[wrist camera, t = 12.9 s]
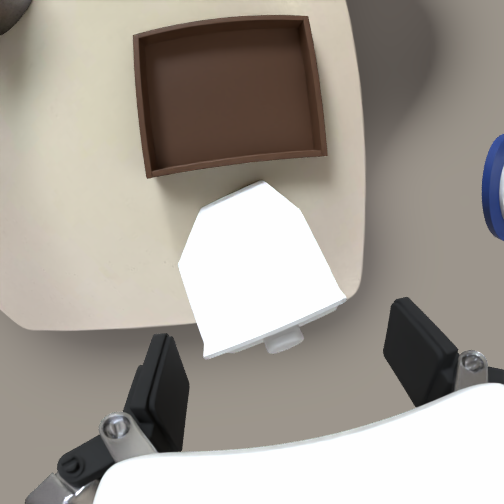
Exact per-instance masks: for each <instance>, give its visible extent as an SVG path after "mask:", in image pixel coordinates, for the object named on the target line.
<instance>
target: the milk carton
mask: <svg viewBox="0 0 504 504" xmlns="http://www.w3.org/2000/svg"><path fill="white" fill-rule="evenodd" d="M178 266H179V270H180V273H181V276H182V279H183V283H184V286H185V289H186V292H187V295H188V298H189V301H190V304H191V307H192V310H193V313H194V316H195V319H196V322H197V325H198V328H199V330H200V333H201V336H202V339H203V341H204V354H203V357H204V358H205V359H209V358H212V357H215V356H218V355H221V354H224V353H226V352H229V353H236V352H239V351H241V350H244V349H247V348H249V347H252V346H255V345H257V344H260V343H262V342H264V343H265V346H266V349H267V351H268V353H271V354H272V353H278V352H281V351H284V350H287V349H289V348H292V347H294V346H296V345H298V344H300V343H301V342H302V341H303V340H304V336H303V334H302V332H301V330H300V326H303V325H305V324H307V323H309V322H312V321H314V320H316V319H318V318H321V317H323V316H325V315H327V314H329V313H331V312H333V311H335V310H336V308H337V306H338V305H340V304H342V303H344V302H345V301H346V300H347V299H346V296H345V295H344V294H343V292H342V291H341V290H340V289H339V287H338V285H337V283H336V281H335V279H334V277H333V275H332V272H331V270H330V268H329V266H328V264H327V262H326V260H325V258H324V256H323V254H322V252H321V250H320V248H319V246H318V244H317V242H316V240H315V238H314V236H313V234H312V232H311V230H310V228H309V226H308V224H307V222H306V220H305V219H304V217H303V215H302V213H301V211H300V209H298V208H297V207H296V206H295V205H293V204H292V203H291V202H290V201H288V200H287V199H286V198H285V197H284V196H282V195H281V194H280V193H279V192H277V191H276V190H275V189H274V188H273V187H271V186H270V185H269V184H268V183H266V182H265V181H264V180H261V181H258V182H256V183H253V184H251V185H249V186H247V187H244V188H242V189H240V190H238V191H236V192H233V193H231V194H229V195H227V196H225V197H223V198H220V199H218V200H216V201H214V202H212V203H210V204H208V205H206V206H204V207H202V208H201V209H200V211H199V214H198V216H197V218H196V221H195V223H194V226H193V228H192V231H191V233H190V236H189V238H188V241H187V243H186V246H185V248H184V251H183V253H182V256H181V259H180V261H179V263H178Z"/></svg>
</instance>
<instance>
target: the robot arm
mask: <svg viewBox="0 0 504 504" xmlns="http://www.w3.org/2000/svg"><path fill="white" fill-rule="evenodd" d="M499 201H500V209H501V213H502V216H503V219H504V167H503V169H502V174H501V179H500V187H499ZM383 354H384V357H385V359H386V360H387V362H388V363H389V365H390V366H391V368H392V370H393V371H394V373H395V374H396V376H397V377H398V379H399V381H400V382H401V384H402V386H403V387H404V389H405V390H406V392H407V394H408V395H409V397H410V399H411V400H412V402H413V404H414V405H415V407H417V408H414V409H412V410H409V411H407V412H404V413H401V414H399V415H396V416H393V417H390V418H387V419H384V420H381V421H378V422H375V423H372V424H368V425H365V426H362V427H358V428H354V429H351V430H347V431H343V432H339V433H335V434H331V435H327V436H322V437H318V438H313V439H308V440H302V441H297V442H291V443H285V444H279V445H272V446H264V447H255V448H247V449H246V448H245V449H233V450H220V451H198V452H181V451H182V446H183V437H184V428H185V418H186V411H187V403H188V395H189V381H188V378H187V375H186V373H185V370H184V367H183V364H182V361H181V359H180V356H179V353H178V350H177V347H176V344H175V341H174V338H173V337H172V336H171V337H169V335H168V334H167V333H166V334H154V335H153V338H152V340H151V343H150V346H149V349H148V352H147V355H146V358H145V360H144V363H143V365H140V366H139V367H138V369H137V371H136V374H135V377H134V380H133V383H132V385H131V389H130V391H129V394H128V398H127V401H126V404H125V407H124V410H123V412H114V413H111V414H109V415H107V416H106V417H104V419H103V420H102V421H101V423H100V425H99V433H100V435H98V436H96V437H94V438H93V439H91V440H89V441H87V442H86V443H84V444H82V445H81V446H79V447H77V448H75V449H73V450H71V451H70V452H68V453H66V454H64V455H63V456H62V457H61V458H60V460H59V462H58V464H57V470H58V472H57V473H56V474H53V473H51V474H50V475H49V476H48V477H47V478H46V479H45V480H44V481H43V482H42V483H41V484H40V485H39V486H38V487H37V488H36V489H35V490H34V491H33V492H32V493H31V494H30V495H29V496H28V497H27V498H26V500H25V504H504V370H502V369H498V368H492V367H488V364H487V360H486V358H485V357H484V356H483V355H482V354H481V353H479V352H477V351H471V350H469V351H464V352H463V353H461V354H460V355H459V353H458V349H457V347H456V346H455V345H454V344H453V343H452V342H451V341H450V340H449V339H448V338H447V337H446V336H445V334H444V333H443V332H442V331H441V330H440V329H439V328H438V327H437V326H436V325H435V324H434V323H433V322H432V321H431V320H430V319H429V318H428V317H427V316H426V315H425V314H424V313H423V312H422V311H421V310H420V309H419V308H418V307H417V306H416V305H415V304H414V303H413V302H412V301H411V300H410V299H409V298H408V297H404V298H400V299H396V300H395V301H394V303H393V304H392V305H391V310H390V316H389V322H388V328H387V334H386V339H385V344H384V349H383Z"/></svg>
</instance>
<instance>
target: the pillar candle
mask: <svg viewBox="0 0 504 504" xmlns="http://www.w3.org/2000/svg"><path fill="white" fill-rule="evenodd" d="M31 1H32V0H0V35H2V34H4V33H5V32H7V31H8V30H9V29H10V28H11V27H12V26H13V25H14V24H15V23H16V22H17V21H18V20H19V19H20V18H21V16H22V15H23V14H24V12H25V11H26V10H27V8H28V7H29V5H30V3H31Z"/></svg>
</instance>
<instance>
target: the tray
mask: <svg viewBox="0 0 504 504" xmlns="http://www.w3.org/2000/svg"><path fill="white" fill-rule="evenodd" d="M133 50H134V71H135V85H136V98H137V108H138V118H139V127H140V135H141V143H142V150H143V157H144V164H145V171H146V177H147V179H148V178H153V177H158V176H164V175H169V174H174V173H180V172H186V171H192V170H198V169H205V168H212V167H219V166H226V165H233V164H241V163H250V162H259V161H269V160H279V159H291V158H304V157H320V156H327V143H326V133H325V123H324V114H323V105H322V97H321V90H320V82H319V75H318V69H317V62H316V56H315V50H314V44H313V39H312V34H311V28H310V23H309V18H308V16H294V15H258V16H239V17H227V18H217V19H209V20H202V21H195V22H189V23H183V24H178V25H173V26H168V27H163V28H159V29H155V30H151V31H147V32H143V33H139V34H136V35H133Z"/></svg>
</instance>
